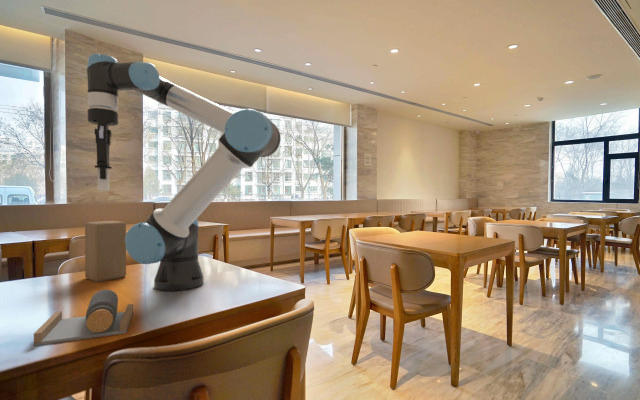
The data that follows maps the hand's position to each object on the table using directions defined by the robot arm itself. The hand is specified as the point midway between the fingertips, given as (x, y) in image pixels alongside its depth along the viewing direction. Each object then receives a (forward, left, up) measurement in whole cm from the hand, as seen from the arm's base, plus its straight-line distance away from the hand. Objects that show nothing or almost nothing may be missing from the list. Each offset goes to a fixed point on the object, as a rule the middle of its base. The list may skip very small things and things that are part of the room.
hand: (103, 190), depth 99 cm
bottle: (-3, +19, -28) cm, 34 cm away
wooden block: (+3, -23, -31) cm, 39 cm away
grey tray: (-2, +27, -31) cm, 41 cm away
